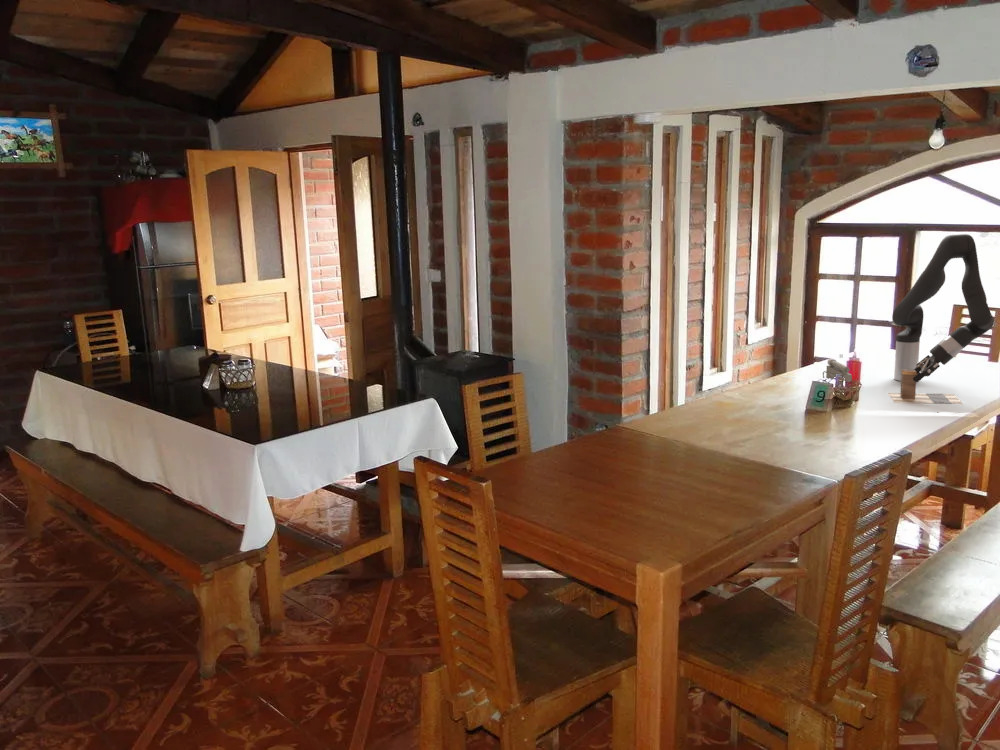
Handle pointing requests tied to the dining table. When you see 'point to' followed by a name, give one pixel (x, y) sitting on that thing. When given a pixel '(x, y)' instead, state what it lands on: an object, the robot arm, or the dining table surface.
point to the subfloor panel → (927, 398)
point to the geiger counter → (837, 370)
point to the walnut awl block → (908, 384)
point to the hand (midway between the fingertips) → (912, 378)
